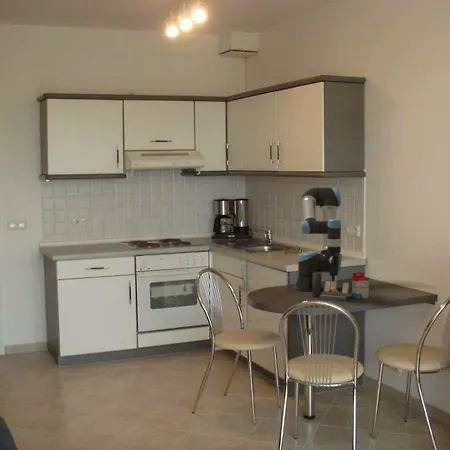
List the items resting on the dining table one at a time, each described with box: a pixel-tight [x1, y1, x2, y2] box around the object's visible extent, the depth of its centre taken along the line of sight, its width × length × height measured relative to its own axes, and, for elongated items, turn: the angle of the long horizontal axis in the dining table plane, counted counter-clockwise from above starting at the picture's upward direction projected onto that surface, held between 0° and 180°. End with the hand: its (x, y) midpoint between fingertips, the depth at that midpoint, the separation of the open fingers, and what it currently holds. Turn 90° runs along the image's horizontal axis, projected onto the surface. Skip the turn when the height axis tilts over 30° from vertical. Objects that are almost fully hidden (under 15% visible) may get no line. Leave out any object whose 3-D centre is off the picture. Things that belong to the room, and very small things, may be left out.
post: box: [312, 272, 322, 299], centre depth 417 cm, size 5×5×14 cm
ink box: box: [351, 271, 370, 300], centre depth 414 cm, size 8×5×15 cm, turn 116°
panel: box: [318, 292, 353, 302], centre depth 412 cm, size 16×11×3 cm
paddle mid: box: [330, 286, 340, 294], centre depth 410 cm, size 3×2×7 cm
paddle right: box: [341, 282, 350, 295], centre depth 410 cm, size 3×2×7 cm, turn 61°
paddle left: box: [323, 281, 331, 293], centre depth 416 cm, size 3×2×7 cm, turn 61°
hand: (333, 286), depth 409 cm, fingers closed
